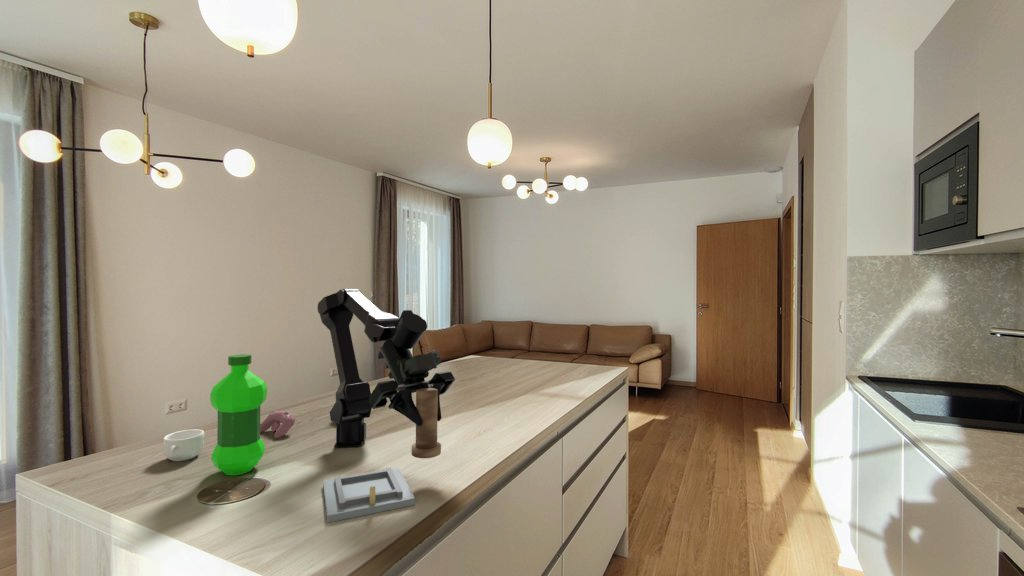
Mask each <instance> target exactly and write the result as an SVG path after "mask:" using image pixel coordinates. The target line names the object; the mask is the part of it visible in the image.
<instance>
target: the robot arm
mask: <svg viewBox="0 0 1024 576" xmlns="http://www.w3.org/2000/svg"><path fill="white" fill-rule="evenodd" d="M317 312H318V314H319V316H320V320H321V323H322V324H323V325H324V326H325V327H326V328H327V329H328V330H329V332H330V337H331V342H332V347H333V353H334V357H335V358H334V359H335V363H336V364H335V365H336V369H337V373H338V379H339V385H338V387H337V391H336V392H337V393H336V392H335V402H334V404H333V406H332V408H331V409H330V411H329V418H330V422H331V421H332V422H333V423H335V424H336V425H335V427H336V429H335V431H336V432H335V433H336V434H335V435H336V436H335V444H334V445H333V447H334V448H347V447H348V448H352V447H353V448H355V447H362V445H363V443H364V442H365V441H366V440H367V423H366V422H365V419H366V418H370V417H371V413H372V409H373V410H375V409H381V408H384V407H386V405H387V403H388V399H389V401H390V403H389V405H388V409H390V410H391V409H393V410H395V411H396V412H398V413H399V414H402V415H403V416H404V417H406V418H407V419H408V420H410V421H411V422H412V423H414V424H415V426H416V425H418V426H421V425H422V424H423V422H422V419H421V417H420V414H419V412H418V410H417V408H416V403H415V402H414V400H413V394H416V390H418V389H421V388H435V389H438V415H437V422H440V421H441V420H442V412H441V402H440V401H441V400H440V399H441V398H440V397H441V395H444V394H445V393H446V392H447V391H448V390H449V389H450V387H451V386H452V385H453V383H454V382H455V381H456V378H455V376H454V375H453V373H452V372H451V371H450V370H449V371H448V370H446V371H440V372H435V373H434V374H433V376H432V377H431V379H429V380H425V379H426V378H428V377H429V375H430V371H432V370H434V369H437V368H438V366H439V365H441V363H442V358H441V355H440V353H439V352H438V350H435V349H434V350H429V352H426V353H422V354H418V355H415V356H413V354H412V352H411V349H414V348H415V347H416V346H417V344H418V343H419V342H420V339H421V338H422V337H423V335H424V334H425V333H426V330H427V329H428V323H427V321H426V320H425V319H424V318H422V316H420V315H418V314H415V313H414V312H413V311H412V309H404V310H403V311H402V312H401V314H400V316H399V317H398V316H397V315H395V314H392V313H389V312H385V311H382V310H381V309H379V307H377V306H376V305H375V304H373V303H372V302H371V300H369V299H368V298H367V297H365V296H364V295H363V294H362V291H361V290H360V289H358V288H342V289H339V290H337V292H335V293H332V294H328V295H326V296H323V297H322V299H321V300H320V301H318V304H317ZM354 316H355V317H356V319H358V320H359V321H360V322H361V323H362V324H363V325H364V330H363V331H364V334H365V335H366V336H367V338H368V340H369V341H370V342H371V343H383V344H382V346H380V347H379V352H378V353H377V359H379V360H382V359H384V361H385V362H386V365H387V367H388V369H389V371H390V372H389V373H388V378H389V379H390V380H385V381H380V382H378V383H377V384H376V386H375V388H374V389H373V390H372V392H371V386H370V383H369V382H368V381H365V382H364V381H363V379H361V377H360V373H359V369H358V368H359V367H358V364H357V358H356V353H355V349H354V348H355V347H354V343H353V339H352V333H351V329H350V324H351V322H352V320H353V317H354ZM392 379H393V380H392Z"/></svg>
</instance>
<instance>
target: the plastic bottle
mask: <svg viewBox="0 0 1024 576" xmlns="http://www.w3.org/2000/svg"><path fill="white" fill-rule="evenodd" d="M227 360H228V361H227V365H228V366H230V372H229V373H228V374H227V375H226V376H224V377H223V378H222V379H221V380H220V381H219V382H217V383H216V384H215V385H214V386H213V387H212V389H211V392H210V397H209V398H210V403H211V404H210V405H211V406H212V407H213V408H214V409H215V410H216V411H217V436H216V437H217V439H216V440H217V443H216V446H215V447H214V449H213V452H212V454H211V462H212V463H213V466H214V467H216V469H218V470H220V471H221V472H223V474H225V475H227V476H239V475H243V474H246V473H248V472H250V471H252V470H253V468H254V467H256V466H257V465H258V464H259V462H260V461H261V459H262V458H263V456H264V455H265V452H266V446H265V443H264V441H263V438H262V437H261V433H260V424H261V405H262V404H263V403H264V402H265V400H267V395H268V386H267V384H266V382H265V381H264V380H263V379H261V378H260V377H258V376H257V375H255V374H254V373H253V372H251V371H250V370H249V365H251V364H252V354H250V353H249V354H247V353H245V354H234V355H229V356H228V359H227Z"/></svg>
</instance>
